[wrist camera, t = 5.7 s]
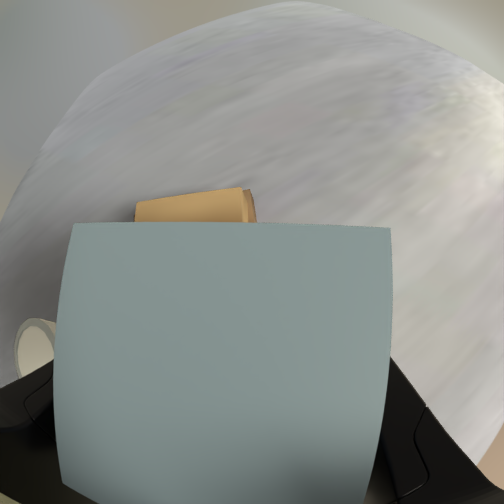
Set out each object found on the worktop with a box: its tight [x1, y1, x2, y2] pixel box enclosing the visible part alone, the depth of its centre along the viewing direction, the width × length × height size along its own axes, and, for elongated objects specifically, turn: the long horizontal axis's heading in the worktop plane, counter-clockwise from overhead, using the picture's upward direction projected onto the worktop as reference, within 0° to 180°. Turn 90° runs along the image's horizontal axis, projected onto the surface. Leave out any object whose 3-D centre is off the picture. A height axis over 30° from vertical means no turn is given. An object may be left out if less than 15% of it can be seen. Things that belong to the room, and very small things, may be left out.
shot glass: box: [14, 318, 56, 379], centre depth 19 cm, size 7×7×7 cm
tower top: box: [135, 187, 248, 223], centre depth 20 cm, size 8×8×2 cm
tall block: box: [53, 222, 393, 504], centre depth 9 cm, size 5×5×11 cm
